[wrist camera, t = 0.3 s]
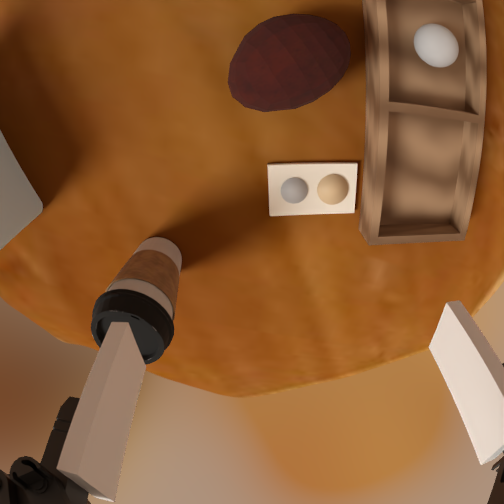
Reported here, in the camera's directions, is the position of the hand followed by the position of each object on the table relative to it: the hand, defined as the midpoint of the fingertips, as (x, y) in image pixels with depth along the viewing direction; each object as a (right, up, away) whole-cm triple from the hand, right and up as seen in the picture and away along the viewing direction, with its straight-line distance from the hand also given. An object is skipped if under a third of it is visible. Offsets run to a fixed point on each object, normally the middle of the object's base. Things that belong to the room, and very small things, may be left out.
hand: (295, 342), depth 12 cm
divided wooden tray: (+18, +20, +18) cm, 32 cm away
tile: (+5, +11, +23) cm, 26 cm away
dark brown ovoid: (+1, +23, +17) cm, 28 cm away
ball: (+17, +26, +13) cm, 34 cm away
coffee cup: (-13, +3, +28) cm, 31 cm away
